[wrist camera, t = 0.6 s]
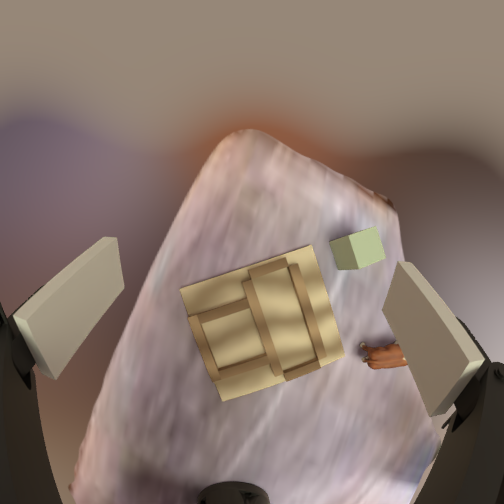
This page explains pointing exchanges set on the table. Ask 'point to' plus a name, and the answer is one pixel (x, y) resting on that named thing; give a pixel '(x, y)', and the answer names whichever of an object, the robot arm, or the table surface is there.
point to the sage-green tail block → (358, 249)
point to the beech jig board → (263, 323)
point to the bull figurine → (384, 356)
